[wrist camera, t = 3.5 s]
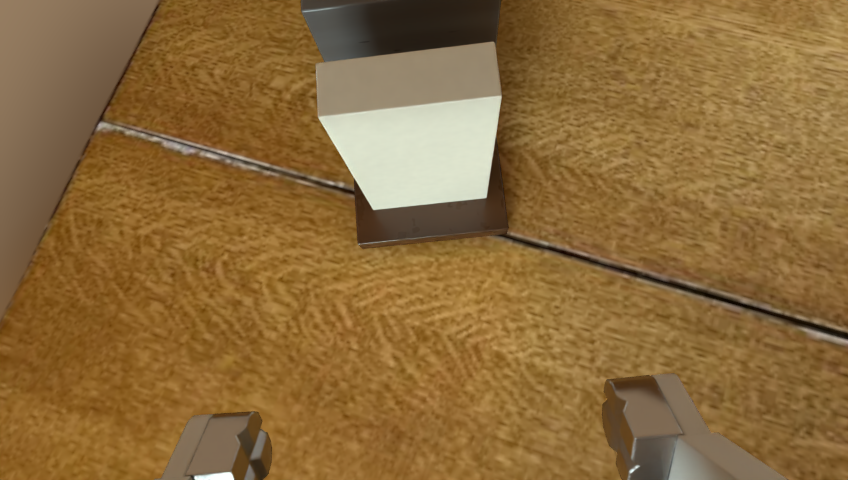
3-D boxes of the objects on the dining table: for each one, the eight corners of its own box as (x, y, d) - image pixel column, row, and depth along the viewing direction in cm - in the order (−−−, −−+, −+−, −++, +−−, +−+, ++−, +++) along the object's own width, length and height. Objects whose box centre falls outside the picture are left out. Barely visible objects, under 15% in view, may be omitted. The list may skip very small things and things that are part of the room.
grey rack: (506, 234, 29) (535, 155, 18) (361, 249, 30) (300, 181, 19) (474, -17, 33) (480, -211, 22) (346, -1, 34) (287, -182, 23)
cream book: (486, 198, 29) (502, 96, 18) (372, 210, 29) (317, 118, 18) (482, 162, 29) (494, 40, 18) (370, 174, 30) (315, 62, 18)
